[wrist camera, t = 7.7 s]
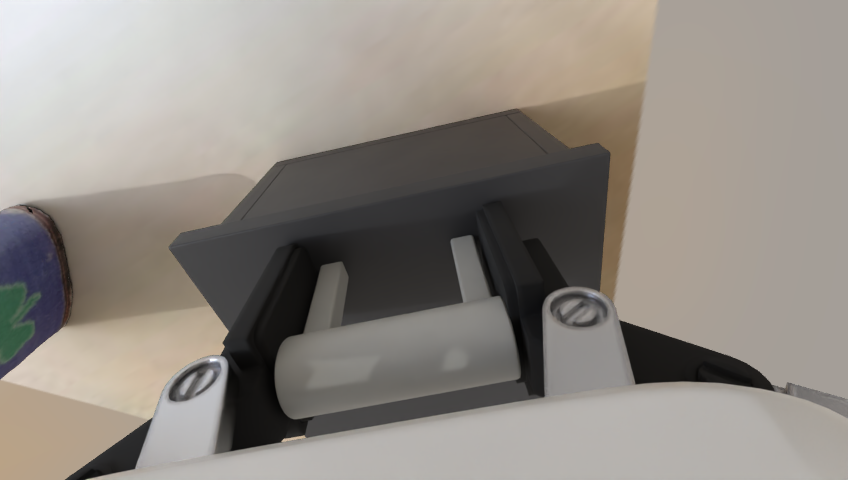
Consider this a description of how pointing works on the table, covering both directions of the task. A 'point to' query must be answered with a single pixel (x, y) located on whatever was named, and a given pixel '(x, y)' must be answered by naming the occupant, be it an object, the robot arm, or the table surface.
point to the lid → (407, 287)
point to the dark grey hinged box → (397, 162)
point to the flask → (30, 284)
